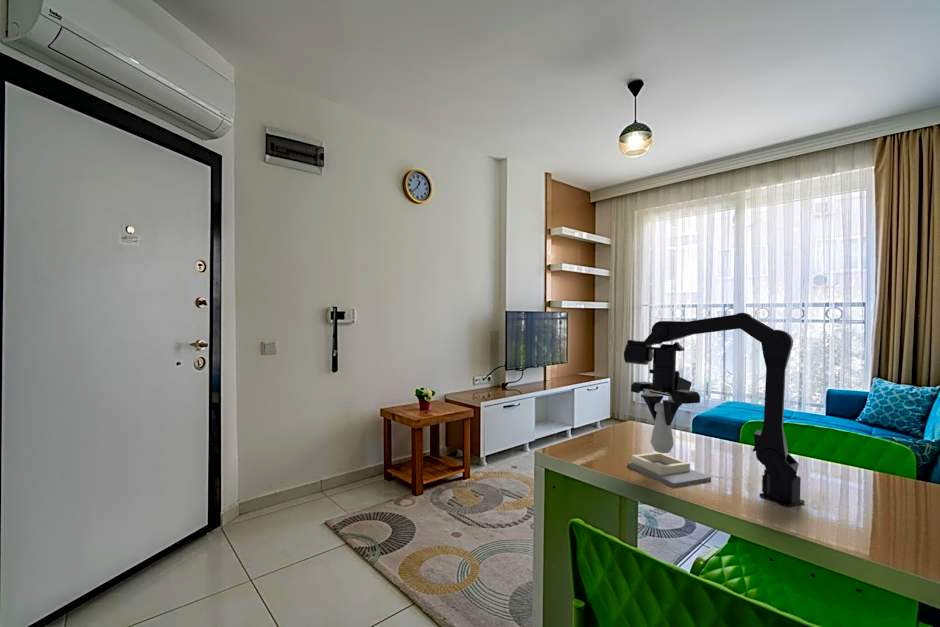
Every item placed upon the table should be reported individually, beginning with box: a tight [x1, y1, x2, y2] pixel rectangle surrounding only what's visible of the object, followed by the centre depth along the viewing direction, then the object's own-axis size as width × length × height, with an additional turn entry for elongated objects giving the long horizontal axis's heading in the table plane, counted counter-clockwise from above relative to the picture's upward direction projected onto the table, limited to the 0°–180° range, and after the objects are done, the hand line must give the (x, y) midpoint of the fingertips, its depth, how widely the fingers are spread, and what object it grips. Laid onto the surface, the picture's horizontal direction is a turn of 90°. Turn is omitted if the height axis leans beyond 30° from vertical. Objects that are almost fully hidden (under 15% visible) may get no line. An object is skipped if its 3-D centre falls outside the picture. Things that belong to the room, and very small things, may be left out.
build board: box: [626, 451, 712, 488], centre depth 116 cm, size 16×13×3 cm
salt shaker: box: [650, 402, 675, 454], centre depth 117 cm, size 6×6×13 cm
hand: (662, 423), depth 118 cm, fingers closed on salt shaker, 4 cm apart
